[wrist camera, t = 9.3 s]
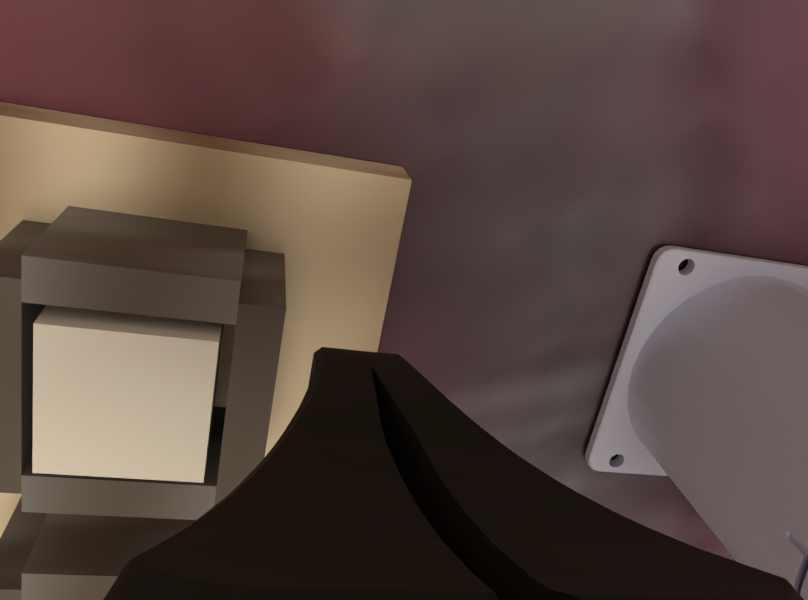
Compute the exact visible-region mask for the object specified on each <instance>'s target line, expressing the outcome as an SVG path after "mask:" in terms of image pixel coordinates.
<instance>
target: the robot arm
mask: <svg viewBox="0 0 808 600" xmlns="http://www.w3.org/2000/svg"><path fill="white" fill-rule="evenodd" d="M685 259H688V264H687V265H686V267H685V268H684V269H682V270H679V271H678V267H679V265H680V263H681V262H682V261H683V260H685ZM617 454H619V455H618V457H617V458H615V459H614V460H610V459H611V457H613V456H614V455H617ZM585 459H586V462H587V463H588V465H589V466H590V467H591V468H592V469H593V470H595V471H601V472H615V473H630V474H644V475H658V476H669V477H670V479H671V480H672V481H673V482H674V484H675V485H676V486H677V487H678V489H679V490H680V491H681V492H682V494H683V495H684V496H685V497H686V499H687V500H688V501H689V502H690V504H691V505H692V506H693V507H694V509H695V510H696V511H697V513H698V514H699V515H700V516H701V518H702V519H703V520H704V521H705V523H706V524H707V525H708V526H709V528H710V529H711V530H712V531H713V533H714V534H715V535H716V536H717V538H718V539H719V540H720V541H721V543H722V544H723V545H724V546H725V548H726V549H727V550H728V551H729V553H730V554H731V555H732V556H733V558H734V559H735V560H736V561H737V562H736V561H733V560H730V559H727V558H724V557H721V556H718V555H715V554H712V553H709V552H706V551H703V550H701V549H698V548H696V547H693V546H690V545H688V544H686V543H683V542H681V541H678V540H676V539H674V538H671V537H669V536H666V535H664V534H662V533H659V532H657V531H654V530H652V529H650V528H647V527H645V526H643V525H641V524H639V523H637V522H634V521H632V520H630V519H628V518H626V517H624V516H621V515H619V514H617V513H615V512H613V511H611V510H610V509H608V508H606V507H604V506H602V505H600V504H598V503H596V502H594V501H592V500H590V499H589V498H587V497H585V496H583V495H581V494H579V493H577V492H575V491H574V490H572V489H570V488H568V487H567V486H565V485H563V484H561V483H560V482H558V481H556V480H555V479H553V478H552V477H550V476H549V475H547V474H545V473H544V472H542V471H541V470H539V469H538V468H536V467H535V466H533V465H531V464H530V463H528V462H527V461H525V460H524V459H522V458H521V457H519V456H518V455H517V454H515V453H514V452H512V451H511V450H510V449H508V448H507V447H505V446H504V445H503V444H502V443H500V442H499V441H498V440H496V439H495V438H494V437H493V436H491V435H490V434H489V433H487V432H486V431H485V430H484V429H482V428H481V427H480V426H479V425H477V424H476V423H475V422H474V421H473V420H471V419H470V418H469V417H468V416H467V415H465V414H464V413H463V412H462V411H461V410H460V409H458V408H457V407H456V406H455V405H454V404H453V403H452V402H451V401H449V400H448V399H447V398H446V397H445V396H444V395H443V394H442V393H441V392H440V391H438V390H437V389H436V388H435V387H434V386H433V385H432V384H431V383H430V382H429V381H428V380H427V379H426V378H424V377H423V376H422V375H421V374H420V373H419V372H418V371H417V370H416V369H415V368H414V367H413V366H411V365H410V364H409V363H408V362H407V361H406V360H404V359H403V358H402V357H401V356H399V355H397V354H388V353H378V352H368V351H358V350H348V349H338V348H328V347H321V348H320V349H318V350H317V351H316V352H314V354H313V360H312V367H311V373H310V379H309V385H308V389H307V391H306V393H305V396H304V398H303V400H302V402H301V404H300V406H299V408H298V410H297V411H296V413H295V415H294V416H293V418H292V420H291V421H290V423H289V425H288V426H287V428H286V429H285V431H284V433H283V434H282V435H281V437H280V438H279V440H278V441H277V442H276V444H275V445H274V446H273V448H272V449H271V450H270V451H269V453H268V454H267V455H266V456H265V457H264V459H263V460H262V461H261V462H260V463H259V465H258V466H257V467H256V468H255V469H254V470H253V471H252V472H251V473H250V474H249V475H248V476H247V477H246V478H245V479H244V480H243V481H242V482H241V483H240V484H239V485H238V486H237V487H236V488H235V489H234V490H233V491H232V492H231V493H230V494H229V495H227V496H226V497H225V498H224V499H223V500H221V501H220V502H219V503H218V504H216V505H215V506H214V507H212V508H211V509H210V510H209V511H207V512H206V513H205V514H204V515H202V516H201V517H200V518H198V519H197V520H196V521H195V522H193V523H192V524H191V525H189V526H188V527H186V528H185V529H183V530H182V531H180V532H179V533H177V534H175V535H173V536H172V537H170V538H168V539H166V540H165V541H163V542H161V543H159V544H158V545H156V546H154V547H152V548H151V549H149V550H147V551H145V552H143V553H141V554H139V555H137V556H135V557H134V558H132V559H131V560H129V561H128V562H127V564H126V565H125V567H124V568H123V570H122V571H121V573H120V574H119V576H118V577H117V579H116V581H115V582H114V584H113V585H112V587H111V588H110V590H109V592H108V593H107V595H106V596H105V598H104V599H103V600H808V266H805V265H798V264H792V263H785V262H778V261H772V260H765V259H758V258H752V257H745V256H738V255H732V254H725V253H718V252H711V251H705V250H698V249H691V248H685V247H678V246H664V247H662V248H659V249H658V250H657V251H656V252H655V253H654V255H653V257H652V259H651V261H650V264H649V267H648V270H647V273H646V276H645V279H644V282H643V285H642V288H641V291H640V294H639V297H638V300H637V303H636V306H635V308H634V311H633V314H632V317H631V320H630V323H629V326H628V329H627V332H626V335H625V338H624V341H623V344H622V347H621V350H620V353H619V356H618V359H617V362H616V364H615V367H614V370H613V373H612V376H611V379H610V382H609V385H608V388H607V391H606V394H605V397H604V400H603V403H602V406H601V409H600V412H599V415H598V417H597V420H596V423H595V426H594V429H593V432H592V435H591V438H590V441H589V444H588V447H587V450H586V453H585Z"/></svg>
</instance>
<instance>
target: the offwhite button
mask: <svg viewBox="0 0 808 600" xmlns="http://www.w3.org/2000/svg"><path fill="white" fill-rule="evenodd" d="M223 326H224V324H222V323H213V322H203V321H194V320H185V319H175V318H166V317H156V316H147V315H137V314H128V313H119V312H109V311H100V310H90V309H81V308H71V307H62V306H53V305H46V306H45V308H44V309H43V311H42V312H41V313H40V315H39V316H38V318H37V319H36V320H35V322H34V323H33V449H32V473H43V474H60V475H78V476H95V477H112V478H129V479H147V480H164V481H181V482H198V483H203V482H204V475H205V469H206V462H207V455H208V448H209V441H210V435H211V428H212V421H213V414H214V406H215V397H216V388H217V379H218V370H219V361H220V353H221V344H222V335H223Z"/></svg>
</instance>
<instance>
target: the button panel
mask: <svg viewBox="0 0 808 600" xmlns="http://www.w3.org/2000/svg"><path fill="white" fill-rule="evenodd" d="M411 182H412V180H411V178H410V177H409V175H408V174H407V172H406V171H405V170H404V168H403V167H401V166H395V165H389V164H382V163H376V162H370V161H364V160H358V159H351V158H345V157H339V156H333V155H327V154H321V153H314V152H308V151H302V150H296V149H290V148H283V147H277V146H271V145H265V144H259V143H253V142H246V141H240V140H234V139H228V138H222V137H215V136H209V135H203V134H197V133H191V132H185V131H178V130H172V129H166V128H160V127H154V126H147V125H141V124H135V123H129V122H123V121H116V120H110V119H104V118H98V117H92V116H86V115H79V114H73V113H67V112H61V111H55V110H48V109H42V108H36V107H30V106H24V105H18V104H11V103H5V102H0V600H103V599H104V598H105V596H106V595H107V593H108V592H109V590H110V588H111V587H112V585H113V584H114V582H115V581H116V579H117V577H118V576H119V574H120V573H121V571H122V570H123V568H124V567H125V565H126V564H127V562H128V561H129V560H131V559H132V558H134V557H135V556H137V555H139V554H141V553H143V552H145V551H147V550H149V549H151V548H152V547H154V546H156V545H158V544H159V543H161V542H163V541H165V540H166V539H168V538H170V537H172V536H173V535H175V534H177V533H179V532H180V531H182V530H183V529H185V528H186V527H188V526H189V525H191V524H192V523H193V522H195V521H196V520H197V519H198V518H200V517H201V516H202V515H204V514H205V513H206V512H207V511H209V510H210V509H211V508H212V507H214V506H215V505H216V504H218V503H219V502H220V501H221V500H223V499H224V498H225V497H226V496H227V495H229V494H230V493H231V492H232V491H233V490H234V489H235V488H236V487H237V486H238V485H239V484H240V483H241V482H242V481H243V480H244V479H245V478H246V477H247V476H248V475H249V474H250V473H251V472H252V471H253V470H254V469H255V468H256V467H257V466H258V465H259V463H260V462H261V461H262V460H263V459H264V457H265V456H266V455H267V454H268V453H269V451H270V450H271V449H272V448H273V446H274V445H275V444H276V442H277V441H278V440H279V438H280V437H281V435H282V434H283V433H284V431H285V429H286V428H287V426H288V425H289V423H290V421H291V420H292V418H293V416H294V415H295V413H296V411H297V410H298V408H299V406H300V404H301V402H302V400H303V398H304V396H305V393H306V391H307V389H308V385H309V379H310V373H311V367H312V360H313V354H314V352H316V351H317V350H318V349H320V348H321V347H328V348H338V349H348V350H358V351H368V352H377V351H378V346H379V341H380V336H381V331H382V326H383V321H384V316H385V311H386V306H387V301H388V296H389V291H390V286H391V281H392V276H393V271H394V266H395V261H396V256H397V252H398V247H399V242H400V237H401V232H402V227H403V222H404V217H405V212H406V207H407V202H408V197H409V192H410V187H411ZM46 305H53V306H62V307H71V308H81V309H90V310H100V311H109V312H119V313H128V314H137V315H147V316H156V317H166V318H175V319H185V320H194V321H203V322H213V323H222V324H224V326H223V335H222V344H221V353H220V361H219V370H218V379H217V388H216V397H215V406H214V414H213V421H212V428H211V435H210V441H209V448H208V455H207V462H206V469H205V475H204V482H203V483H198V482H181V481H164V480H147V479H129V478H112V477H95V476H78V475H60V474H43V473H32V449H33V323H34V322H35V320H36V319H37V318H38V316H39V315H40V313H41V312H42V311H43V309H44V308H45V306H46Z"/></svg>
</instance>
